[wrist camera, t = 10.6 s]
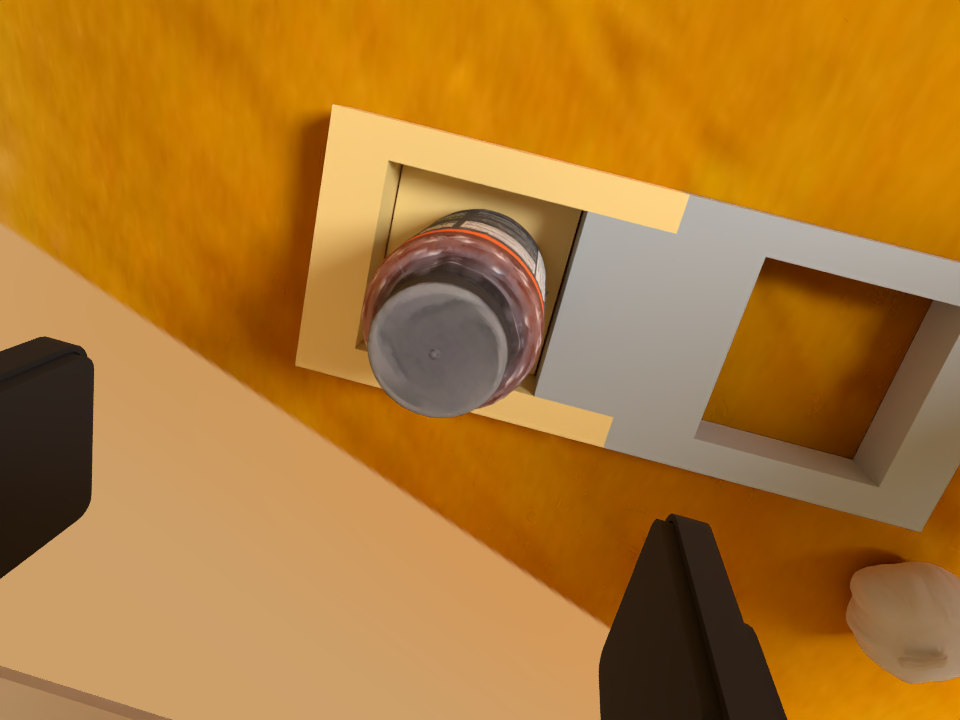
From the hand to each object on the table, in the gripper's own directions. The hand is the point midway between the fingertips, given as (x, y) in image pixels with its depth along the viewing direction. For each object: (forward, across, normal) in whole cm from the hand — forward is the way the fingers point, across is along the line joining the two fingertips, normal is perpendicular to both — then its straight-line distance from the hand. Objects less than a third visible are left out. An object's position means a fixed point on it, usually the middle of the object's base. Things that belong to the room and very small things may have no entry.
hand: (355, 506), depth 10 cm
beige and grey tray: (+19, -6, 0) cm, 20 cm away
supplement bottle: (+19, +1, 0) cm, 19 cm away
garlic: (+20, -22, +10) cm, 32 cm away
